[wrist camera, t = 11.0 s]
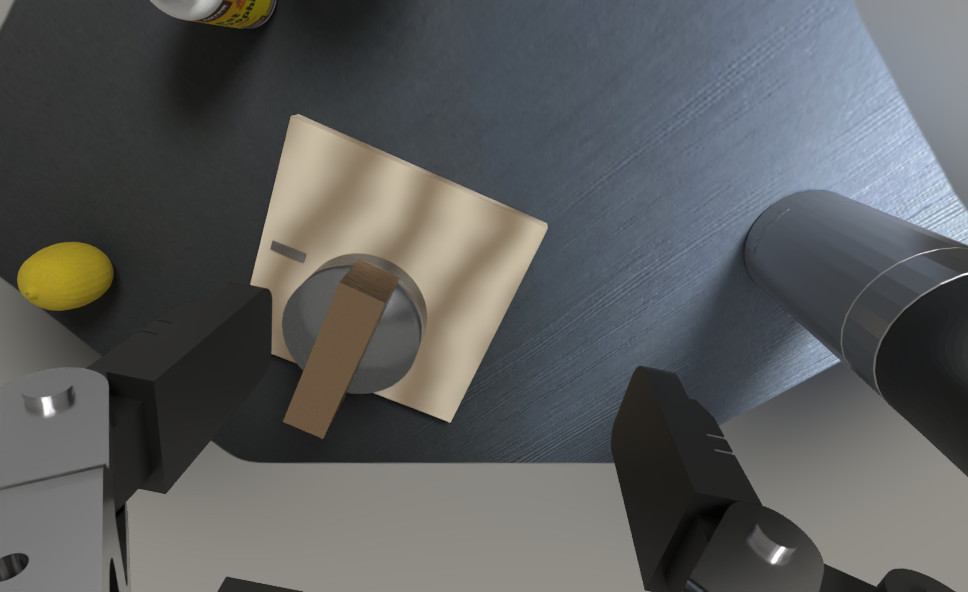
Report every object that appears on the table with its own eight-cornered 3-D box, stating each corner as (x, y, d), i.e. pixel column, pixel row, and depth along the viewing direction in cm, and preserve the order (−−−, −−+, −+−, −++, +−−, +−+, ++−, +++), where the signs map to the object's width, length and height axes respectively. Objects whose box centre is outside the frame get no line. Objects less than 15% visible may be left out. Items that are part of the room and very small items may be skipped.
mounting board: (546, 223, 42) (547, 229, 41) (452, 413, 51) (450, 423, 50) (298, 114, 40) (289, 116, 38) (244, 332, 49) (235, 341, 47)
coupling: (350, 204, 41) (284, 256, 30) (459, 258, 42) (437, 327, 31) (303, 326, 46) (232, 409, 35) (402, 370, 47) (364, 465, 36)
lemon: (135, 244, 46) (62, 277, 39) (131, 295, 48) (61, 335, 41) (75, 222, 45) (-10, 251, 38) (73, 274, 48) (-8, 311, 40)
